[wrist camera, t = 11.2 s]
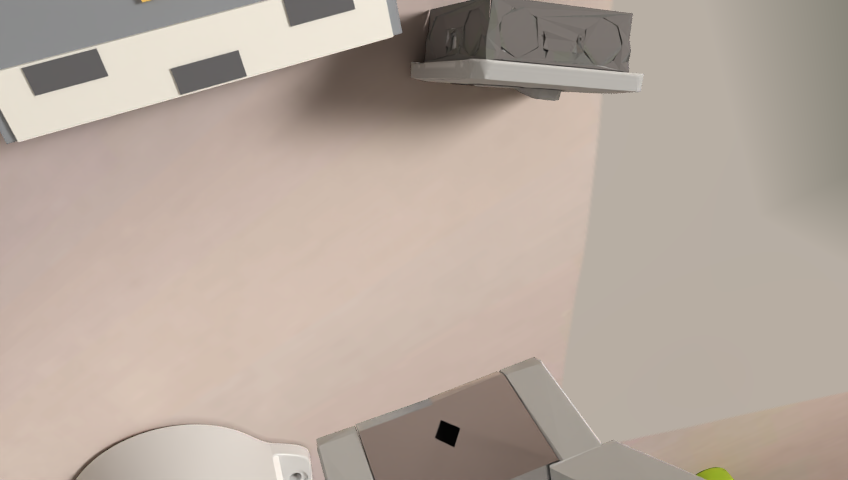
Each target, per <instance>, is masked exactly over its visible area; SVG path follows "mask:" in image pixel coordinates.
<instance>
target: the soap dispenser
mask: <svg viewBox="0 0 848 480" xmlns="http://www.w3.org/2000/svg"><path fill="white" fill-rule="evenodd" d="M697 476H699V477H701V478H704V479H706V480H734V479H733V478H732V477H731V476H730V474H729V473H728V472H727V471H726V470H725V469H723V468H710V469H707V470H704V471H702V472H700V473H698V474H697Z"/></svg>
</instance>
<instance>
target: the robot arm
mask: <svg viewBox="0 0 848 480" xmlns="http://www.w3.org/2000/svg"><path fill="white" fill-rule="evenodd" d="M356 427H357V430H358V432H357V430H356ZM356 427H355V426H352V427H349V428H346V429H343V430H341V431H338V432H335V433H332V434H329V435H326V436H323V437H320V438H318V439H317V451H318V454H319V458H320V462H321V466H322V469H323V473H324V477H325V480H706V479H704V478H701V477H699V476H697V475H694V474H692V473H690V472H687V471H685V470H683V469H680V468H678V467H676V466H673V465H671V464H669V463H666V462H664V461H662V460H659V459H657V458H655V457H652V456H650V455H647V454H645V453H643V452H640V451H638V450H636V449H633V448H631V447H629V446H626V445H624V444H622V443H619V442H617V441H615V440H612V441H609V442H606V443H604V444H602V443H601V442H600V440H599V439H598V438H597V436H596V435H595V433H594V432H593V431H592V429H591V428H590V427H589V425H588V424H587V422H586V421H585V420H584V418H583V417H582V416H581V414H580V413H579V412H578V410H577V409H576V408H575V406H574V405H573V404H572V402H571V401H570V399H569V398H568V397H567V395H566V394H565V393H564V391H563V390H562V389H561V387H560V386H559V384H558V383H557V382H556V380H555V379H554V378H553V376H552V375H551V374H550V372H549V371H548V370H547V368H546V367H545V366H544V364H543V363H542V361H541V360H539V359H537V358H535V357H533V358H530V359H528V360H525V361H522V362H520V363H517V364H515V365H512V366H510V367H507V368H504V369H502V370H500V371H499V372H497V371H496V372H494V373H491V374H489V375H486V376H484V377H481V378H479V379H476V380H473V381H471V382H468V383H466V384H463V385H461V386H458V387H455V388H453V389H450V390H448V391H445V392H443V393H440V394H438V395H435V396H432V397H430V398H428V399H427V400H424V401H421V402H418V403H415V404H412V405H409V406H407V407H404V408H401V409H398V410H395V411H392V412H390V413H387V414H384V415H381V416H378V417H375V418H372V419H370V420H367V421H364V422H361V423H358V424H356ZM358 433H359V435H358ZM359 437H360V438H359ZM360 440H361V441H360ZM361 443H362V444H361ZM362 446H363V447H362ZM363 449H364V450H363ZM364 452H365V453H364ZM294 473H296V474H294ZM76 480H313V479H312V469H311V459H310V453H309V451H308V450H307V449H306V448H305V447H303V446H300V445H295V444H284V443H268V442H264V441H262V440H259V439H256V438H254V437H252V436H250V435H247V434H245V433H243V432H240V431H237V430H234V429H230V428H226V427H221V426H214V425H200V424H192V425H178V426H171V427H165V428H160V429H156V430H152V431H148V432H145V433H142V434H139V435H137V436H134V437H131V438H129V439H127V440H125V441H122V442H121V443H119V444H117V445H115V446H113V447H111V448H110V449H108V450H107V451H105V452H104V453H102V454H101V455H99V456H98V457H97V458H96V459H94V460H93V461H92V462H91V463H90V464H89V465H88V466H87V467H86V468H85V469H84V470H83V471H82V472H81V473H80V474H79V476H78V477H77V479H76Z"/></svg>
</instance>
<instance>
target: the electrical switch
mask: <svg viewBox="0 0 848 480" xmlns="http://www.w3.org/2000/svg"><path fill="white" fill-rule="evenodd" d="M512 8H513V9H512ZM489 11H490V17H489ZM632 15H633V14H632V13H624V12H616V11H608V10H601V9H593V8H585V7H577V6H569V5H562V4H554V3H546V2H538V1H530V0H491V8H490V0H470V1H466V2H461V3H457V4H453V5H449V6H444V7H440V8H436V9H431V10H430V25H429V33H428V36H427V41H426V54H425V60H424V63H418V62H411V78H414V79H418V80H422V81H429V82H441V83H450V84H461V85H474V86H483V87H497V88H514V89H515V90H517V91H519V92H521V93H523V94H525V95H527V96H529V97H532V98H535V99H542V100H552V101H555V100H559V97H560V93H561V92H583V93H626V92H640V91H641V86H642V80H643V75H644V74H636V73H629V64H628V61H629V57H630V52H631V49H630V41H629V38H630V30H631V23H632Z"/></svg>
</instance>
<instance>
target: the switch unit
mask: <svg viewBox="0 0 848 480" xmlns="http://www.w3.org/2000/svg"><path fill="white" fill-rule="evenodd" d="M401 33H402V29H401V23H400V18H399V13H398V8H397V3H396V0H0V132H1V134H2V136H3V138H4V139H5V141H6V143H7V144H8V143H12V142H16V141H18V142H21V141H25V140H28V139H32V138H35V137H39V136H42V135H46V134H49V133H53V132H57V131H60V130H64V129H67V128H71V127H74V126H78V125H81V124H85V123H89V122H92V121H96V120H99V119H103V118H106V117H110V116H114V115H117V114H121V113H124V112H128V111H131V110H135V109H138V108H142V107H146V106H149V105H153V104H156V103H160V102H163V101H167V100H170V99H174V98H178V97H181V96H185V95H188V94H192V93H195V92H199V91H203V90H206V89H210V88H213V87H217V86H220V85H224V84H227V83H231V82H235V81H238V80H242V79H245V78H249V77H252V76H256V75H260V74H263V73H267V72H270V71H274V70H277V69H281V68H284V67H288V66H292V65H295V64H299V63H302V62H306V61H309V60H313V59H316V58H320V57H324V56H327V55H331V54H334V53H338V52H341V51H345V50H349V49H352V48H356V47H359V46H363V45H366V44H370V43H373V42H377V41H381V40H384V39H388V38H391V37H393V35H397V34H401Z"/></svg>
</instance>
